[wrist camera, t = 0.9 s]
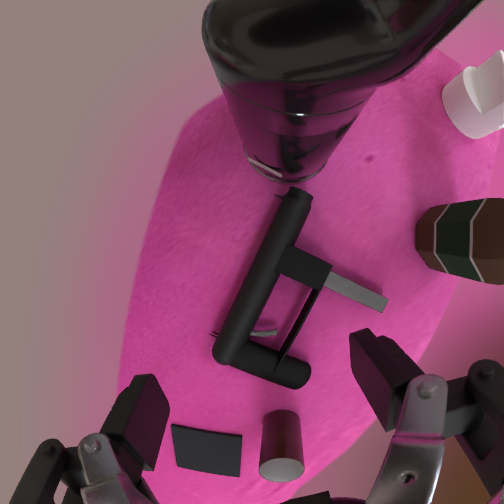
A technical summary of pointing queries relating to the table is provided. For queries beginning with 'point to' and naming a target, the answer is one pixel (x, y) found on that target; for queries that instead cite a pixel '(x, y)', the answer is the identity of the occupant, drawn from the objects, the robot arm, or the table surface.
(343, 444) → the table surface
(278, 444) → the dark brown cylinder
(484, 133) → the base with upright slab
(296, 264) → the door handle
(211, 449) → the black mat
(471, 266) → the beer bottle
